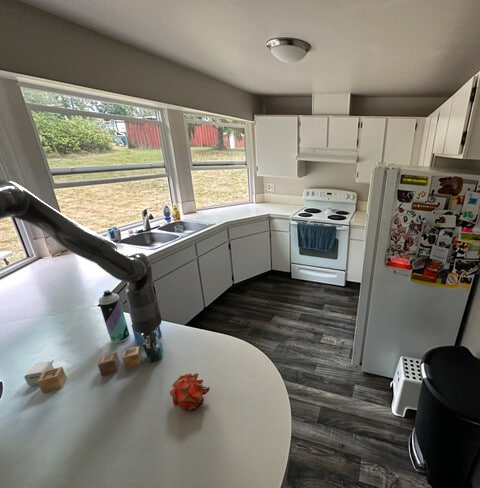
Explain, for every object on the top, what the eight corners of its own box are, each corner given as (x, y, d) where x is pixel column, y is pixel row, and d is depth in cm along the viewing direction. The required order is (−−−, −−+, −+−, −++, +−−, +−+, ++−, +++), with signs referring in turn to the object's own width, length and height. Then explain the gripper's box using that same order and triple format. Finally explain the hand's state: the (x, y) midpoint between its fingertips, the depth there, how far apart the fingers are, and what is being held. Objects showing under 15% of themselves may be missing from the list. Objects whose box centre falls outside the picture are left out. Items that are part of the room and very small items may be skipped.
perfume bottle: (161, 335, 95) (155, 309, 91) (143, 345, 90) (136, 317, 86) (153, 329, 98) (146, 303, 94) (135, 339, 93) (127, 311, 89)
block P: (125, 369, 80) (122, 357, 78) (127, 360, 83) (124, 349, 82) (140, 364, 82) (137, 353, 80) (142, 356, 85) (139, 345, 84)
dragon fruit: (182, 391, 75) (205, 418, 69) (155, 397, 68) (177, 428, 62) (197, 364, 76) (220, 389, 70) (172, 367, 69) (196, 395, 63)
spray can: (107, 341, 91) (91, 294, 84) (122, 332, 96) (108, 286, 89) (119, 344, 90) (104, 296, 83) (133, 334, 95) (120, 288, 88)
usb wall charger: (28, 385, 73) (23, 375, 72) (42, 368, 79) (38, 358, 78) (46, 381, 75) (41, 371, 73) (59, 364, 81) (55, 355, 79)
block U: (101, 376, 77) (97, 364, 76) (104, 367, 80) (100, 355, 79) (117, 371, 79) (114, 360, 78) (120, 362, 82) (116, 351, 81)
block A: (42, 393, 71) (37, 381, 70) (48, 382, 74) (43, 371, 73) (61, 387, 73) (56, 376, 71) (66, 377, 76) (62, 366, 75)
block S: (148, 362, 83) (145, 351, 81) (149, 354, 86) (146, 343, 85) (162, 358, 85) (159, 347, 83) (163, 350, 88) (160, 339, 86)
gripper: (134, 305, 84) (144, 346, 89) (126, 330, 72) (139, 375, 78) (160, 299, 87) (169, 339, 93) (157, 322, 75) (167, 366, 81)
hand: (155, 355), depth 85 cm, fingers closed on block S, 4 cm apart
